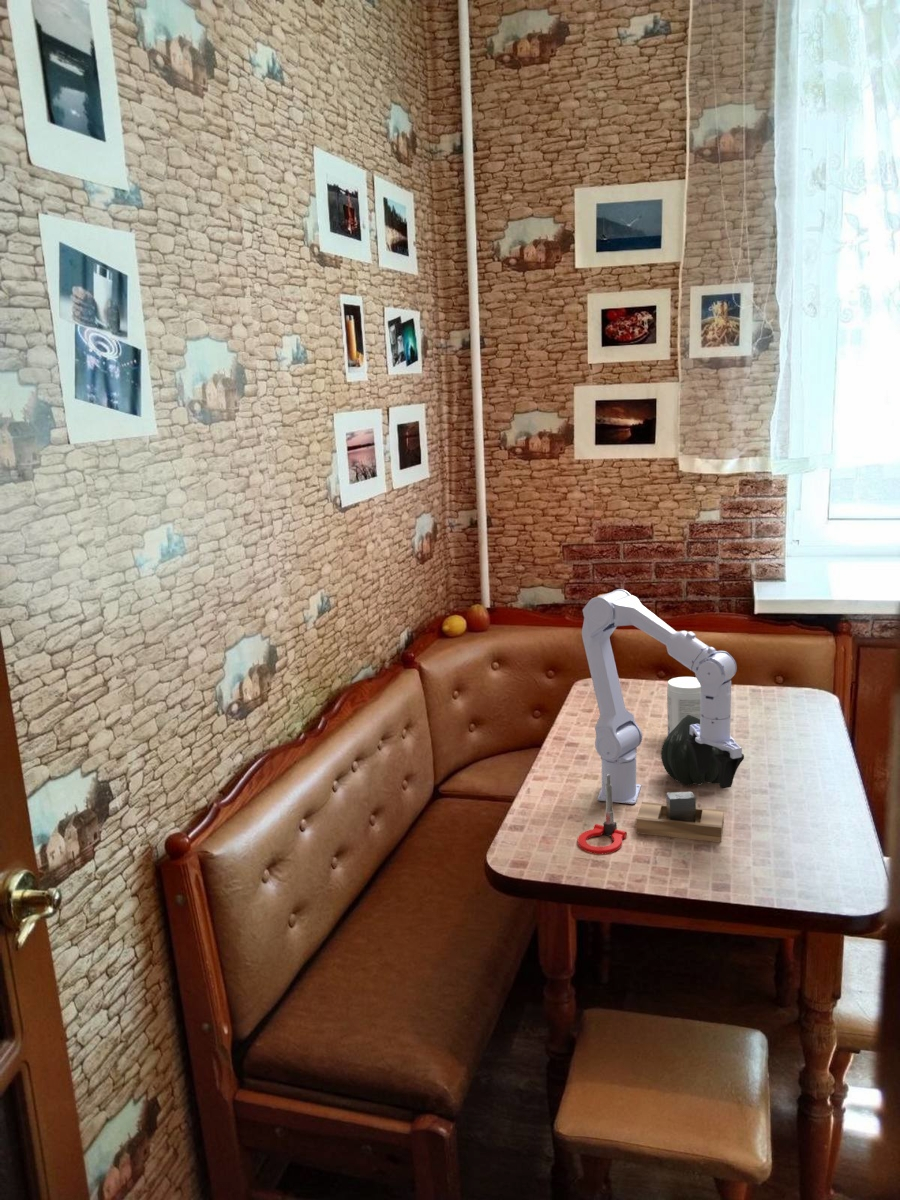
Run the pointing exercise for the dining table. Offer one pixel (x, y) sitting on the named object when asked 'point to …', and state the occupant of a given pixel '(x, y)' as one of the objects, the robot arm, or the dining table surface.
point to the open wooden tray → (680, 823)
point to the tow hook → (604, 828)
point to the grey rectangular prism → (681, 806)
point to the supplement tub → (682, 700)
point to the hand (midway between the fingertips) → (714, 780)
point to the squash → (686, 756)
